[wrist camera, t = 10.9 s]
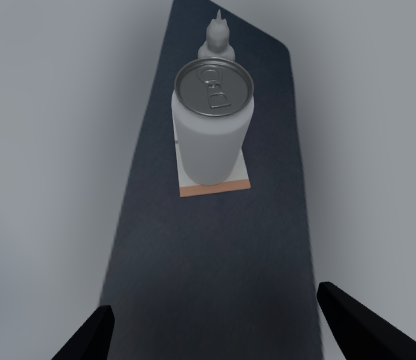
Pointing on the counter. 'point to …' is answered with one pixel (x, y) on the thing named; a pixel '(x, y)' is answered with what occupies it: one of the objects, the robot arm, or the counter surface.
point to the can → (211, 116)
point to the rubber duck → (217, 41)
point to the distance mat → (233, 182)
